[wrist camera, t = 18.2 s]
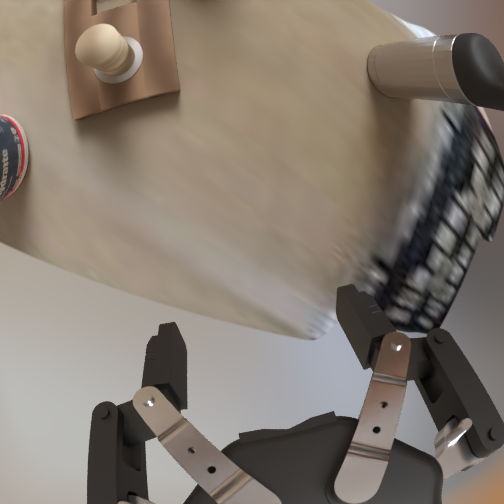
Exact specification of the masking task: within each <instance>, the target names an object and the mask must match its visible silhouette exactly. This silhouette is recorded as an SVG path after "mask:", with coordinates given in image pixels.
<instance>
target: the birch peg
mask: <svg viewBox="0 0 504 504" xmlns="http://www.w3.org/2000/svg"><path fill="white" fill-rule="evenodd" d="M75 54H76V57H77V59H78V60H79V61H80V62H81V63H82V64H85V65H87V66H89V67H92V68H94V69H96V70H98V71H101V72H103V73H105V74H107V75H110V76H119V75H122V74H124V73H126V72H127V71H128V70H129V69H130V68H131V67H132V65H133V64H134V61H135V52H134V50H133V48H132V47H131V46H130V45H129V44H128V43H127V42H126V40H125V39H124V38H123V37H122V36H121V35H120V34H119V32H118V31H117V30H116V29H115V28H114V27H113V26H111V25H109V24H98V25H94V26H92V27H90V28H89V29H87V30H86V31H85V32H84V33H83V34H82V35H81V36H80V38H79V39H78V41H77V43H76V47H75Z"/></svg>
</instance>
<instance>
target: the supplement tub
mask: <svg viewBox="0 0 504 504" xmlns="http://www.w3.org/2000/svg"><path fill="white" fill-rule="evenodd" d="M28 154H29V153H28V142H27V138H26V135H25V132H24V130H23V128H22V127H21V125H20V124H19V123H18V122H17V121H16V120H15V119H14V118H12V117H10V116H7V115H0V201H1V200H3V199H4V198H6V197H8V196H10V195H11V194H12V193H13V192H14V191H15V190H16V189H17V188H18V186H19V185H20V183H21V182H22V180H23V178H24V175H25V172H26V169H27V164H28Z"/></svg>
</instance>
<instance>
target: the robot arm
mask: <svg viewBox="0 0 504 504" xmlns="http://www.w3.org/2000/svg"><path fill="white" fill-rule="evenodd" d="M367 65H368V73H369V76H370V79H371V81H372V82H373V84H374V86H375V87H376V88H377V89H378V90H379V91H380V92H381V93H382V94H384V95H386V96H388V97H392V98H408V99H423V100H434V101H444V102H452V103H460V104H467V105H473V106H479V107H485V108H492V109H496V110H501V111H504V63H503V60H502V58H501V56H500V55H499V53H498V51H497V49H496V48H495V46H494V45H493V44H492V43H491V42H490V41H489V40H488V39H487V38H485V37H484V36H483V35H480V34H477V33H465V34H452V35H443V36H433V37H426V38H419V39H412V40H406V41H400V42H395V43H390V44H385V45H380V46H377V47H375V48H374V49H373V50H372V51H371V52H370V55H369V57H368V62H367ZM336 314H337V318H338V321H339V323H340V325H341V327H342V329H343V331H344V332H345V334H346V336H347V338H348V340H349V342H350V344H351V346H352V348H353V350H354V352H355V353H356V355H357V357H358V359H359V361H360V363H361V365H362V367H363V369H368V368H370V367H371V369H372V370H373V374H372V378H371V381H370V385H369V388H368V391H367V394H366V398H365V400H364V404H363V406H362V409H361V412H360V415H359V418H358V419H356V418H352V417H345V416H335V413H334V411H332V412H329V413H326V414H322V415H319V416H315V417H312V418H310V419H308V420H306V421H304V422H302V423H300V424H298V425H296V426H295V427H292V428H290V429H261V430H255V431H250V432H244V433H239V438H240V439H238V440H236V441H234V442H232V443H230V444H229V445H227V446H226V447H225V448H224V449H223V450H222V451H221V452H220V451H219V450H218V449H217V448H216V447H215V446H214V445H213V444H212V443H211V442H210V441H208V440H207V439H206V438H205V437H204V436H203V435H202V434H201V433H200V432H199V431H198V430H197V429H196V428H195V427H194V426H193V425H192V424H191V423H190V422H189V421H188V420H187V419H186V418H184V417H183V416H182V415H181V412H180V411H181V410H183V409H187V349H186V345H185V342H184V340H183V338H182V336H181V334H180V331H179V329H178V327H177V325H176V323H175V322H171V323H165V324H160V325H159V331H158V335H157V336H152V337H151V339H150V340H149V342H148V344H147V348H146V356H145V364H144V371H143V379H142V387H141V389H140V390H138V391H137V392H136V394H135V395H134V398H133V399H132V400H131V401H129V402H126V403H123V404H120V405H118V406H116V405H115V404H113V403H112V402H108V401H106V402H102V403H100V404H98V405H97V406H96V407H95V408H94V410H93V413H92V421H91V430H90V440H89V454H88V476H87V504H154V503H153V502H151V501H149V498H148V486H147V473H146V454H145V453H146V452H145V441H147V440H150V439H153V438H155V437H158V440H159V442H160V443H161V444H162V445H163V447H164V448H165V449H166V450H167V451H168V452H169V453H170V455H171V456H172V457H173V458H174V459H175V460H176V461H177V462H178V463H179V465H180V466H181V467H182V468H183V469H184V470H185V471H186V472H187V473H188V474H189V475H190V476H191V477H192V478H193V479H194V480H195V481H196V482H197V483H198V484H197V486H196V487H195V489H194V490H193V492H192V493H191V494H190V495H189V497H188V498H187V499H186V501H185V502H184V503H183V504H442V501H441V494H442V485H443V480H445V479H447V478H448V477H450V476H452V475H454V474H455V473H457V472H459V471H465V470H467V469H469V468H471V467H472V466H474V465H475V464H477V463H479V462H480V461H482V460H483V459H485V458H486V457H488V456H489V455H490V454H492V453H493V452H495V451H496V450H497V449H499V448H500V447H501V446H502V445H503V444H504V423H503V421H502V419H501V417H500V415H499V413H498V411H497V409H496V407H495V405H494V404H493V402H492V400H491V398H490V396H489V395H488V393H487V391H486V389H485V388H484V386H483V384H482V383H481V381H480V379H479V378H478V376H477V374H476V373H475V371H474V370H473V368H472V367H471V365H470V363H469V362H468V360H467V358H466V357H465V355H464V354H463V352H462V351H461V349H460V348H459V346H458V345H457V343H456V342H455V340H454V339H453V337H452V336H451V335H450V333H449V332H447V331H445V330H444V329H440V328H436V329H432V330H431V331H429V333H428V334H427V337H422V338H409V337H408V336H407V335H405V334H404V333H401V332H397V331H396V330H395V329H394V327H393V326H392V324H391V323H390V321H389V320H388V318H387V317H386V315H385V314H384V313H383V311H381V308H380V307H379V306H378V305H377V303H376V301H375V300H374V299H373V297H372V296H371V295H369V294H367V293H366V292H364V291H363V292H358V290H357V289H356V288H355V286H354V285H353V284H349V285H345V286H342V287H338V289H337V301H336ZM409 380H414V381H415V383H416V385H417V387H418V389H419V391H420V393H421V395H422V397H423V399H424V401H425V404H426V405H427V408H428V410H429V412H430V414H431V416H432V418H433V421H434V423H435V425H436V427H437V429H438V432H439V433H438V434H437V435H436V437H435V441H434V445H435V449H436V453H435V457H433V456H431V455H429V454H427V453H425V452H423V451H421V450H418V449H416V448H414V447H412V446H410V445H408V444H406V443H404V442H402V441H400V440H397V439H396V438H394V436H395V433H396V429H397V426H398V422H399V418H400V414H401V410H402V405H403V401H404V397H405V392H406V387H407V381H409Z"/></svg>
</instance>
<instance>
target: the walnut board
mask: <svg viewBox="0 0 504 504" xmlns="http://www.w3.org/2000/svg"><path fill="white" fill-rule="evenodd" d="M98 24H109V25H111V26H113V27H114V28H115V29H116V30H117V31H118V32H119V34H120V35H121V36H122V37H123V38H124V39H125V40H126V42H127V43H128V44H129V45H130V46H131V47H132V48H133V50H134V52H135V61H134V64H133V65H132V67H131V68H130V69H129V70H128V71H127V72H126V73H124V74H122V75H119V76H110V75H107V74H105V73H103V72H101V71H98V70H96V69H94V68H92V67H89V66H87V65H85V64H82V63H81V62H80V61H79V60H78V59H77V57H76V54H75V47H76V43H77V41H78V39H79V38H80V36H81V35H82V34H83V33H84V32H85V31H86V30H87V29H89V28H90V27H92V26H94V25H98ZM64 39H65V57H66V69H67V79H68V88H69V95H70V102H71V109H72V115H73V120H80V119H83V118H86V117H89V116H91V115H94V114H97V113H100V112H103V111H106V110H109V109H113V108H116V107H119V106H122V105H126V104H129V103H133V102H137V101H140V100H144V99H148V98H152V97H156V96H161V95H165V94H170V93H174V92H179V91H180V85H179V78H178V71H177V64H176V56H175V49H174V41H173V32H172V24H171V15H170V5H169V0H136V2H134V3H130V4H127V5H123V6H120V7H117V8H114V9H110V10H107V11H104V12H101V13H99V14H97V10H96V0H64Z"/></svg>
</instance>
